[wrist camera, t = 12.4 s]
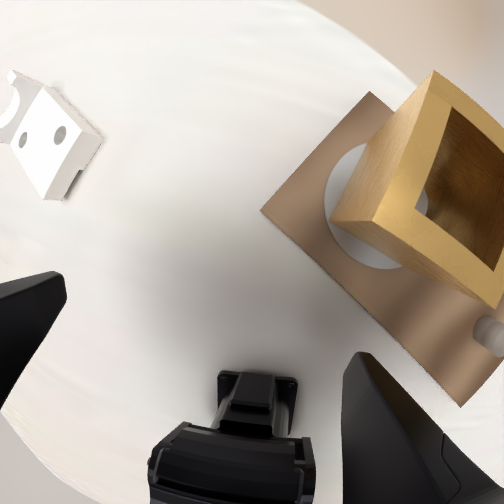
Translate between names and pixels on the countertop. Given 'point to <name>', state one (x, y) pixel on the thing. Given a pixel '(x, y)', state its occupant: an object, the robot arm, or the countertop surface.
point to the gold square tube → (434, 191)
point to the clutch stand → (387, 265)
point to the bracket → (47, 136)
